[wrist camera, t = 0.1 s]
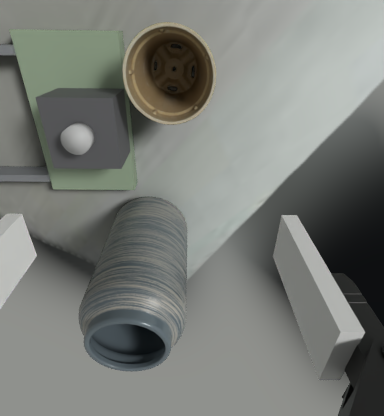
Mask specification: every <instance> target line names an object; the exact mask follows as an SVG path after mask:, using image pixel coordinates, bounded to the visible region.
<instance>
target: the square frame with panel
mask: <svg viewBox="0 0 384 416" xmlns="http://www.w3.org/2000/svg"><path fill="white" fill-rule="evenodd" d="M9 31H10V34H11V38H12V41H13V44H0V55H16V56H17V60H18V63H19V67H20V71H21V74H22V78H23V81H24V85H25V89H26V92H27V96H28V100H29V103H30V107H31V111H32V114H33V118H34V121H35V125H36V129H37V132H38V136H39V140H40V143H41V147H42V151H43V154H44V158H45V161H46V165H47V167H7V166H0V181H16V182H49V181H50V180H51V183H52V187H53V189H66V190H135V188H136V185H137V174H136V164H135V154H134V144H133V134H132V124H131V114H130V103H129V96H128V94H127V92H126V89H125V86H124V82H123V73H122V69H123V60H124V56H125V53H124V43H123V33H122V31H89V30H14V29H9Z"/></svg>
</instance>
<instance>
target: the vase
mask: <svg viewBox="0 0 384 416" xmlns="http://www.w3.org/2000/svg"><path fill="white" fill-rule="evenodd" d="M186 284H187V224H186V221H185V218H184V216H183V214H182V213H181V211H180V210H179V209H178V208H177V207H176V206H174V205H173V204H172V203H170V202H168V201H166V200H164V199H161V198H156V197H141V198H138V199H135V200H132V201H130V202H129V203H127V204H126V205H124V206H123V207H122V208H121V209H120V211H119V212H118V214H117V216H116V218H115V221H114V223H113V226H112V228H111V231H110V233H109V235H108V238H107V240H106V243H105V245H104V248H103V250H102V253H101V255H100V258H99V260H98V263H97V265H96V268H95V270H94V273H93V275H92V278H91V280H90V283H89V285H88V288H87V290H86V292H85V295H84V298H83V300H82V303H81V305H80V308H79V324H80V328H81V331H82V333H83V335H84V347H85V349H86V351H87V353H88V354H89V355H90V357H92V359H94V360H95V361H96V362H98V363H100V364H101V365H104V366H106V367H109V368H112V369H115V370H121V371H142V370H147V369H151V368H153V367H155V366H158V365H159V364H161V363H162V362H163V361H164V360H166V358H167V357H168V356H169V353H170V350H171V348H172V347H173V346H174V345H175V344H176V343H177V341H178V340H179V338H180V337H181V335H182V333H183V331H184V328H185V324H186Z"/></svg>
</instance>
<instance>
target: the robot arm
mask: <svg viewBox="0 0 384 416" xmlns="http://www.w3.org/2000/svg"><path fill="white" fill-rule="evenodd" d="M36 256H37V254H36V252H35V249H34V246H33V243H32V241H31V238H30V235H29V232H28V229H27V227H26V224H25V221H24V218H23V216H22V214H6V215H5V216H4V217H3V218H2V219H1V220H0V309H1V307H2V306H3V304H4V303H5V301H6V300H7V298H8V297H9V296H10V294H11V293H12V291H13V290H14V288H15V287H16V285H17V284H18V282H19V281H20V280H21V278H22V277H23V275H24V274H25V272H26V271H27V269H28V268H29V267H30V265H31V264H32V262H33V261H34V259H35V257H36ZM273 257H274V260H275V263H276V266H277V268H278V271H279V274H280V277H281V279H282V282H283V285H284V287H285V290H286V293H287V295H288V298H289V301H290V303H291V306H292V309H293V311H294V314H295V317H296V320H297V322H298V325H299V328H300V330H301V333H302V336H303V338H304V341H305V344H306V347H307V349H308V352H309V354H310V357H311V360H312V363H313V365H314V368H315V371H316V373H317V376H318V379H319V380H340V379H341V377H342V375H343V374H344V372H346V374H347V376H348V378H349V380H350V384H349V385H348V387H347V389H346V391H345V392H344V394H343V396H342V398H343V402H342V405H341V408H340V411H339V414H338V416H384V327H383V326H382V324H381V323H380V321H379V320H378V318H377V316H376V315H375V313H374V312H373V311H372V309H371V307H370V306H369V304H367V301H366V300H365V298H364V297H363V295H361V292H360V291H359V289H358V288H357V286H356V285H355V283H354V282H353V281H352V280H350V279H349V278H348V277H347V276H346V275H344V274H343V273H330V272H329V270H328V268H327V266H326V265H325V263H324V261H323V259H322V258H321V256H320V254H319V252H318V251H317V249H316V247H315V246H314V244H313V242H312V241H311V239H310V237H309V236H308V234H307V232H306V230H305V229H304V227H303V225H302V224H301V222H300V220H299V218H298V217H297V215H282V217H281V221H280V226H279V231H278V236H277V240H276V245H275V250H274V255H273Z"/></svg>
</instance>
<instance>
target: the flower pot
mask: <svg viewBox="0 0 384 416" xmlns="http://www.w3.org/2000/svg"><path fill="white" fill-rule="evenodd" d="M172 44H179V45H180V46H181V49H179V48H172V47H171V45H172ZM155 61H157V66H158V67H157V68H156V70H154V64H155ZM193 66H194V69H195V75H194V77H191V73H192V67H193ZM173 67H175V68H176V70H175V71H173ZM122 73H123V82H124V86H125V89H126V92H127V94H128V96H129V98H130V100H131V102H132V103H133V105H134V106H135V107H136V108H137V109H138V110H139V111H140V112H141V113H142V114H143V115H144V116H146V117H147V118H149V119H151V120H153V121H155V122H158V123H161V124H167V125H175V124H181V123H184V122H187V121H190V120H192V119H194V118H195V117H197V116H198V115H199V114H200V113H201V112H202V111H203V110H204V109H205V108H206V106H207V105H208V104H209V102H210V100H211V98H212V95H213V92H214V89H215V83H216V67H215V62H214V58H213V56H212V53H211V51H210V49H209V47H208V45H207V44H206V43H205V41H204V40H203V39H202V38H201V37H200V36H199V35H198V34H197V33H196V32H195V31H193V30H192V29H190V28H188V27H186V26H184V25H181V24H177V23H171V22H164V23H157V24H154V25H151V26H149V27H147V28H145V29H143V30H142V31H141V32H140V33H138V34H137V35H136V36H135V37H134V39H133V40H132V41H131V43H130V44H129V46H128V48H127V50H126V53H125V56H124V60H123V69H122ZM168 86H171V87H177V90H176V91H172V90H169V89H168Z"/></svg>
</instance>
